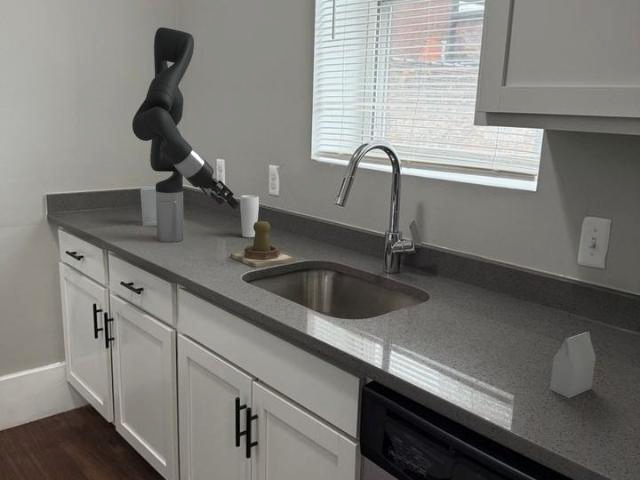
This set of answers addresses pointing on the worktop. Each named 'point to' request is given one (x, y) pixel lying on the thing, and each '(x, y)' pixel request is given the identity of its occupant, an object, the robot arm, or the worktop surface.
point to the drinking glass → (249, 214)
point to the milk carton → (573, 366)
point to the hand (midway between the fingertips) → (229, 204)
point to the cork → (261, 236)
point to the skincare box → (148, 206)
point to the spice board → (262, 262)
